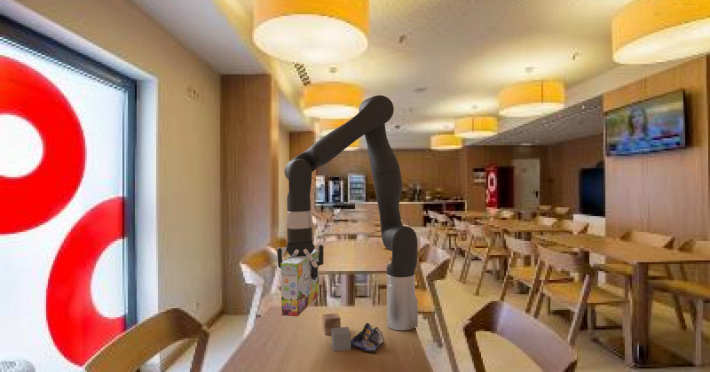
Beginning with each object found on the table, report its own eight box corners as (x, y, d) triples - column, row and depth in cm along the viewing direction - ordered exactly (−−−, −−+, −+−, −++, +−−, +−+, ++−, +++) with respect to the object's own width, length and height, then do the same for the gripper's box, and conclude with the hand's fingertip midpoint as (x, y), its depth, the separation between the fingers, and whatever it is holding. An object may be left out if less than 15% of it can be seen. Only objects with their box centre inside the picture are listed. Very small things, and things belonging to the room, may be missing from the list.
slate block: (348, 343, 130) (348, 326, 129) (351, 350, 125) (350, 332, 125) (331, 344, 129) (331, 328, 129) (333, 351, 124) (333, 334, 124)
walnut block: (337, 328, 142) (337, 313, 142) (340, 333, 137) (340, 318, 137) (322, 329, 141) (322, 314, 141) (325, 335, 136) (324, 319, 136)
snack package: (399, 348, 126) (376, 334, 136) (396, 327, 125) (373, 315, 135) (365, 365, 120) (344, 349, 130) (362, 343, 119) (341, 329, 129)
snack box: (300, 317, 120) (298, 263, 119) (280, 316, 121) (278, 263, 120) (320, 294, 141) (318, 248, 140) (303, 294, 142) (302, 248, 141)
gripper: (321, 223, 135) (322, 275, 136) (274, 225, 132) (276, 279, 133) (325, 226, 128) (327, 281, 129) (275, 228, 125) (277, 285, 125)
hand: (301, 280), depth 131 cm, fingers closed on snack box, 7 cm apart
